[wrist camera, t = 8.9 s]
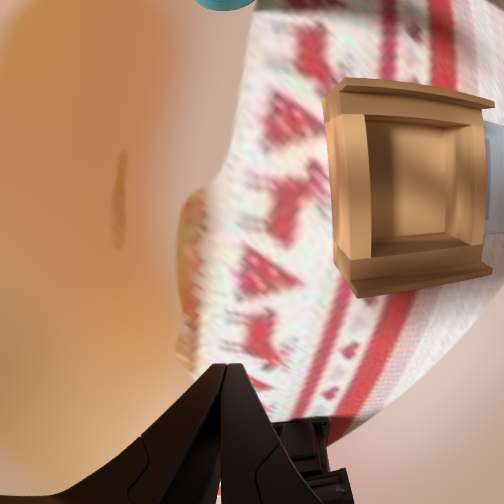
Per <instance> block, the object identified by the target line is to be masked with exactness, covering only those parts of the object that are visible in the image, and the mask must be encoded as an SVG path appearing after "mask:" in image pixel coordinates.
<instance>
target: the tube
mask: <svg viewBox="0 0 504 504" xmlns="http://www.w3.org/2000/svg"><path fill="white" fill-rule="evenodd" d="M253 1H254V0H196V2H198V3H199V4H200V5H201V6H203V7H205V8H207V9H211V10H217V11H229V10H236V9H239V8H242V7H244V6H246V5H249V4H250V3H252V2H253Z"/></svg>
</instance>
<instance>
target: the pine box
mask: <svg viewBox="0 0 504 504" xmlns="http://www.w3.org/2000/svg"><path fill="white" fill-rule="evenodd" d="M322 106H323V114H324V122H325V131H326V140H327V150H328V161H329V173H330V186H331V202H332V222H333V254H334V264H335V265H336V267H337V268H338V270H339V271H340V273H341V274H342V276H343V277H344V279H345V280H346V282H347V283H348V285H349V286H350V288H351V290H352V291H353V293H354V294H355V296H356V297H357V299H358V298H365V297H372V296H379V295H386V294H392V293H398V292H404V291H410V290H416V289H422V288H427V287H433V286H438V285H443V284H449V283H454V282H459V281H463V280H468V279H473V278H478V277H482V276H487V275H491V274H492V270H493V268H491V267H489V266H488V265H486V264H485V263H483V262H481V255H482V248H483V239H484V229H485V216H486V192H487V172H486V149H485V136H484V126H483V117H482V110H481V109H488V108H495V104H494V101H491V100H488V99H484V98H481V97H477V96H473V95H469V94H465V93H461V92H457V91H452V90H448V89H443V88H438V87H432V86H427V85H420V84H414V83H407V82H399V81H390V80H380V79H367V78H348V77H345V78H344V79H343V80H342V81H341V82H340V83H339V84H338V85H337V86H336V87H334V88H333V89H332V90H331V91H330V92H329V93H328V94H327V95H326V96H325V97H324V98H323V99H322Z"/></svg>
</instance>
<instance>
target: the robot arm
mask: <svg viewBox="0 0 504 504" xmlns="http://www.w3.org/2000/svg"><path fill="white" fill-rule="evenodd" d="M329 426H330V422H329V419H328V418H323V419H316V420H308V421H299V422H289V423H277V424H271V422H270V420H269V418H268V416H267V414H266V412H265V410H264V408H263V406H262V404H261V402H260V400H259V398H258V395H257V393H256V391H255V389H254V387H253V385H252V383H251V381H250V379H249V377H248V374H247V372H246V370H245V368H244V366H243V364H241V363H230V364H228V365H227V364H225V363H215V364H212V365H211V366H210V367H209V368H208V369H207V370H206V371H205V372H204V373H203V374H202V375H201V376H200V377H199V378H198V379H197V380H196V381H195V382H194V383H193V385H192V386H191V387H190V388H189V389H188V390H187V391H186V392H185V393H184V394H183V395H182V396H181V397H180V398H179V399H178V400H177V401H176V402H175V403H174V404H173V405H172V406H170V407H169V408H168V409H167V410H166V411H165V412H164V413H163V414H162V415H161V416H160V417H159V418H158V419H157V420H156V421H155V422H154V423H153V424H152V425H151V426H150V427H149V428H148V429H147V430H146V431H145V432H143V433H142V434H141V437H138V438H137V439H136V440H135V441H134V442H133V443H132V444H130V445H129V446H128V447H127V448H126V449H125V450H123V451H122V452H121V453H120V454H119V455H118V456H116V457H115V458H114V459H112V460H111V461H110V462H108V463H107V464H106V465H104V466H103V467H101V468H100V469H98V470H97V471H95V472H94V473H92V474H91V475H89V476H88V477H86V478H85V479H83V480H82V481H80V482H78V483H77V484H75V485H74V486H72V487H71V488H69V489H67V490H65V491H63V492H60V493H57V494H53V495H48V496H5V495H0V504H216V499H217V494H218V489H219V484H220V479H221V504H354V499H353V495H352V491H351V487H350V483H349V480H348V475H347V471H346V468H341V469H340V470H336V471H332V472H330V466H329V461H328V455H327V449H326V447H327V440H328V433H329Z"/></svg>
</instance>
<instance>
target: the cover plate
mask: <svg viewBox="0 0 504 504" xmlns="http://www.w3.org/2000/svg"><path fill="white" fill-rule="evenodd" d="M483 126H484V136H485V149H486V172H487V192H486V216H485V229H484V234H493V233H504V126H501V125H498V124H495V123H491V122H487V121H483Z"/></svg>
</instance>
